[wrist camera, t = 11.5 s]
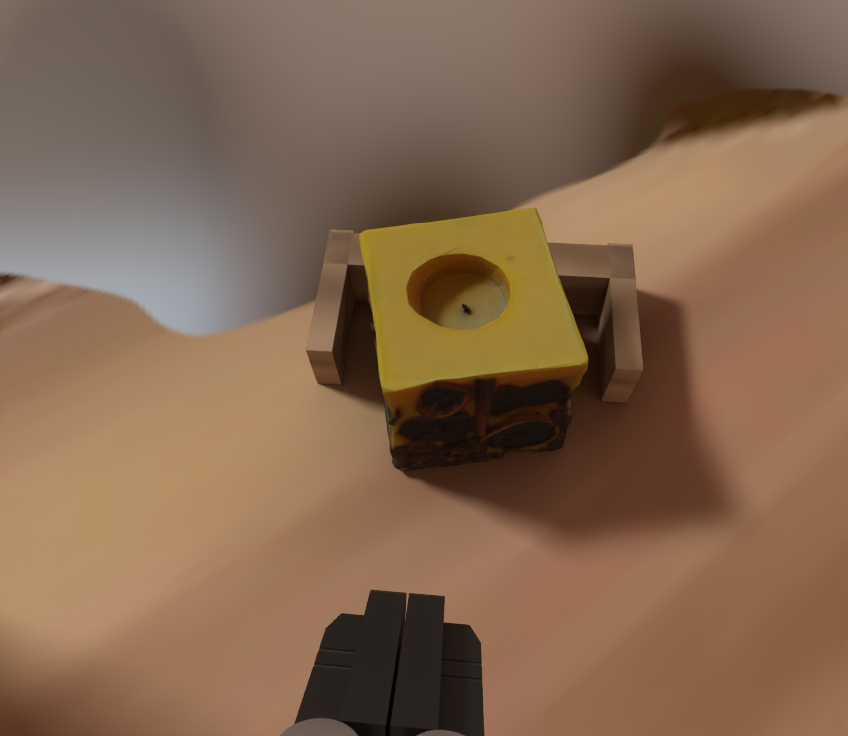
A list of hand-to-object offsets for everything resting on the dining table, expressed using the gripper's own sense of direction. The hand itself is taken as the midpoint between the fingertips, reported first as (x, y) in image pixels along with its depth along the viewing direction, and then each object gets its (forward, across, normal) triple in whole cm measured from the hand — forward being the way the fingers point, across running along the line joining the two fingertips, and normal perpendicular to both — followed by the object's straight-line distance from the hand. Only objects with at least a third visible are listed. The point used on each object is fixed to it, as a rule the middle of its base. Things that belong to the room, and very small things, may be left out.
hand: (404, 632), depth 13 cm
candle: (+29, -1, +3) cm, 29 cm away
